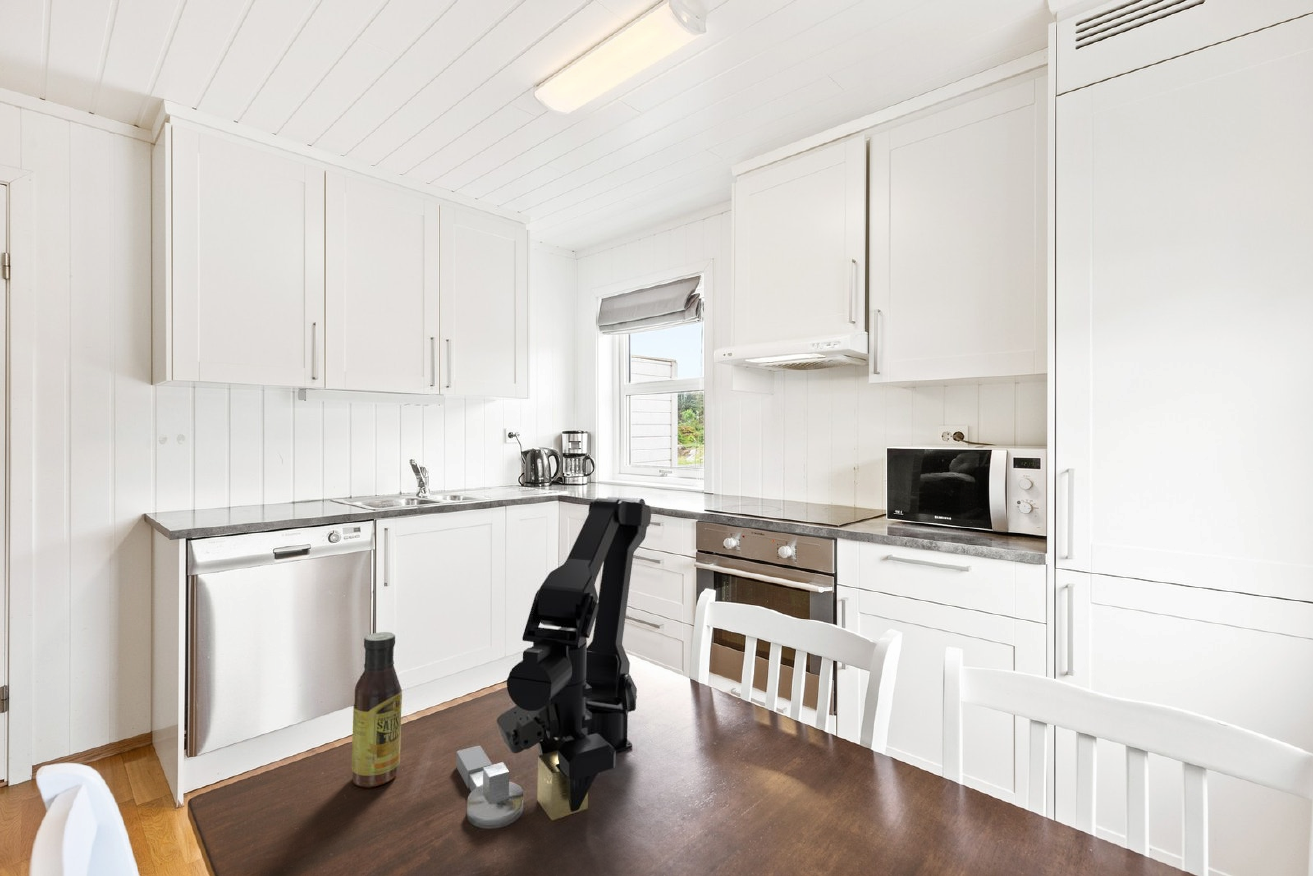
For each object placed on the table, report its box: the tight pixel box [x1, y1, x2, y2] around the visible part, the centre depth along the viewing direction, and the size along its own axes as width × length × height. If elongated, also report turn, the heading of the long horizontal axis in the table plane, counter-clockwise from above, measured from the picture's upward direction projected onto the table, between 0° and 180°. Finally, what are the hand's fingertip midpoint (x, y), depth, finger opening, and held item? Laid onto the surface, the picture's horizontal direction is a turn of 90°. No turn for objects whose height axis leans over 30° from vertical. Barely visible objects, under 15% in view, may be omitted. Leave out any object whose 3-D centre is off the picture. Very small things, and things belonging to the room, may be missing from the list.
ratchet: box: [455, 745, 524, 830], centre depth 85 cm, size 16×7×6 cm, turn 32°
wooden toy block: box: [536, 750, 589, 821], centre depth 83 cm, size 5×5×6 cm
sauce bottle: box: [350, 631, 403, 788], centre depth 88 cm, size 7×6×20 cm
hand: (562, 795), depth 83 cm, fingers open, 7 cm apart
